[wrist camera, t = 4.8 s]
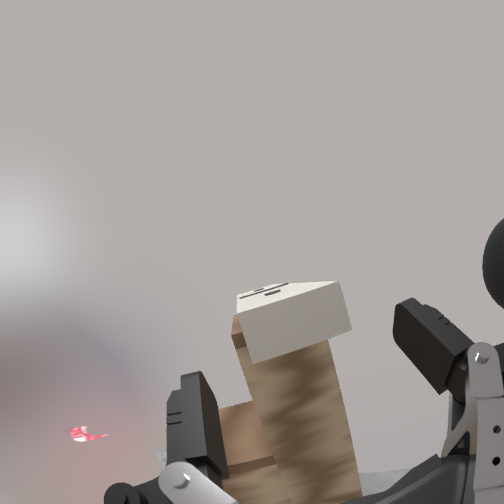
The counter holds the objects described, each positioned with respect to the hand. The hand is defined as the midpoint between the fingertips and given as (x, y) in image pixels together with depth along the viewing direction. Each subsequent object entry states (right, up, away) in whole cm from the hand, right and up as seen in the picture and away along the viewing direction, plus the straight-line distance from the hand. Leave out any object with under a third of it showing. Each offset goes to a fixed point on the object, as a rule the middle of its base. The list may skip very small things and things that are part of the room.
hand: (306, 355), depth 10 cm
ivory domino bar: (-1, -1, +10) cm, 10 cm away
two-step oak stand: (+5, -33, +10) cm, 35 cm away
